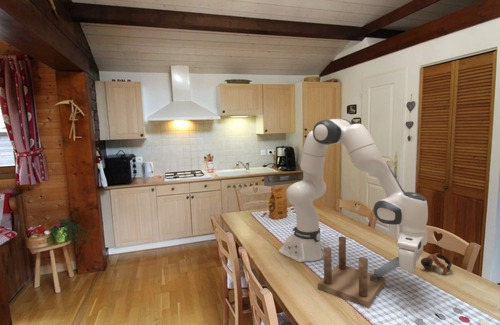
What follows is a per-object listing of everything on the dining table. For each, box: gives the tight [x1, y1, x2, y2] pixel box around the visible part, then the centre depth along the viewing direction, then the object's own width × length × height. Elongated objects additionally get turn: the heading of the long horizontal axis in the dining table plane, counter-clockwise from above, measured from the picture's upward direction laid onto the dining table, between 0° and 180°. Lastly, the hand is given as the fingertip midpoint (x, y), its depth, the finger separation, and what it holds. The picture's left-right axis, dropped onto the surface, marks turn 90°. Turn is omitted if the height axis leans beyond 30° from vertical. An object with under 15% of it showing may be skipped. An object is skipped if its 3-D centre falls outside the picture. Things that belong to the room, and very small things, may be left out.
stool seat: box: [317, 236, 387, 309], centre depth 112 cm, size 20×20×16 cm
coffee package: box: [268, 186, 288, 221], centre depth 202 cm, size 10×12×22 cm
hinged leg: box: [373, 256, 400, 278], centre depth 110 cm, size 3×3×12 cm
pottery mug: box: [420, 252, 452, 276], centre depth 122 cm, size 12×10×8 cm
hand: (411, 272), depth 104 cm, fingers closed
